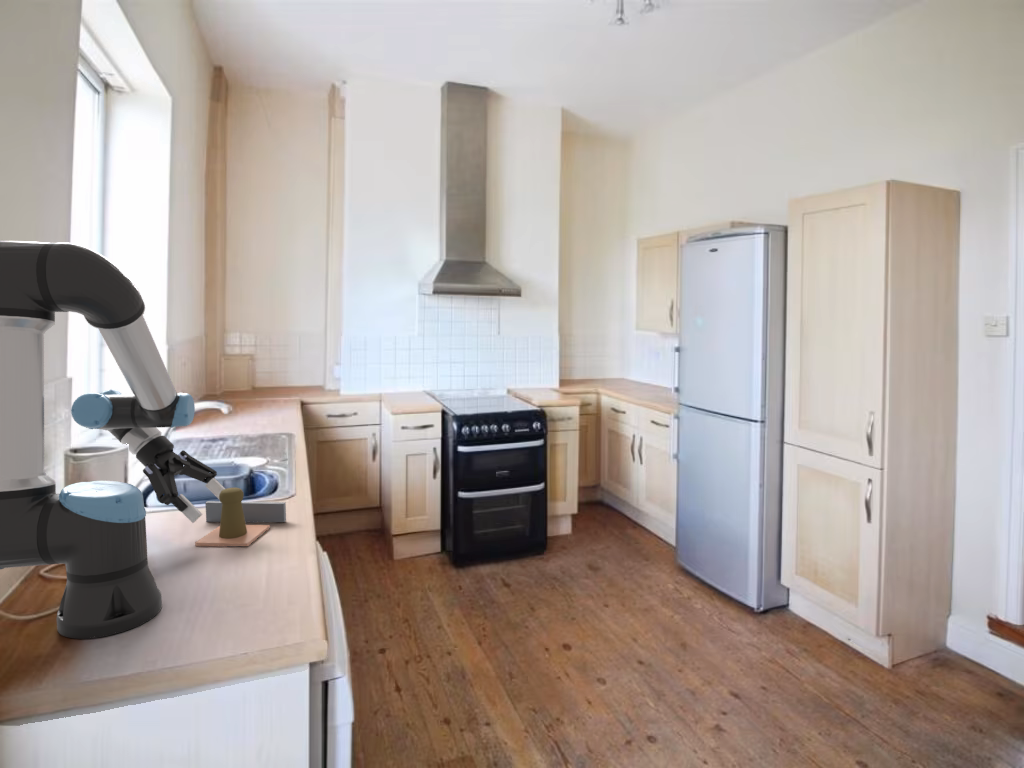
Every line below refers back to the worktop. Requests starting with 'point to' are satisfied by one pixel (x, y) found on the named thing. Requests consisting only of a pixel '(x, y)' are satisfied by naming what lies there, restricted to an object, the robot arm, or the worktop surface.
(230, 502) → the cork
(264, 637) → the worktop surface
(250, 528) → the terracotta tile
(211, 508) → the low wall
